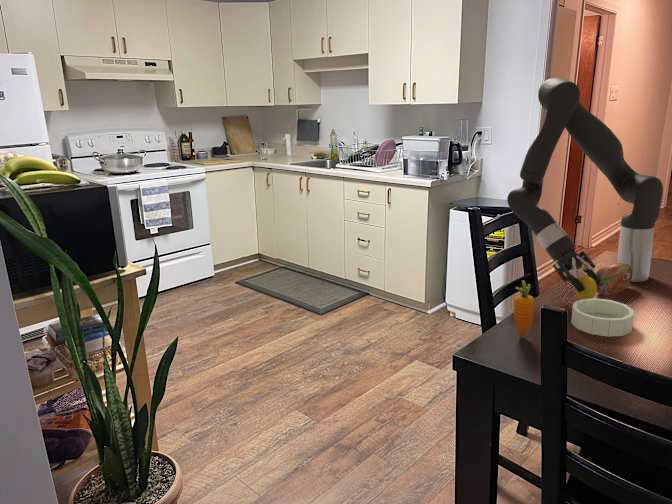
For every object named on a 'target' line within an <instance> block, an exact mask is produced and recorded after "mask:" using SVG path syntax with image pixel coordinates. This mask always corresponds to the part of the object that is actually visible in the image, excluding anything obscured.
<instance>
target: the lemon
mask: <svg viewBox="0 0 672 504" xmlns="http://www.w3.org/2000/svg"><path fill="white" fill-rule="evenodd" d="M587 275H588V274H585V276H582V277H580V278H578V279H579V280H580V281H581V283H582V284H583V285H584V287H585V290H583V291H582V292H578V291H577V290H576V289H575V288H574V290H575V294H576V295H577V296H576V297H578V298H579V299H580V300H582V299H594V297H595V296H596V294H597V292H596V291H597V286H596V282H595V280H594V279H593V278H591V277H589V276H587Z"/></svg>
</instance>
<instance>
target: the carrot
mask: <svg viewBox="0 0 672 504" xmlns="http://www.w3.org/2000/svg"><path fill="white" fill-rule="evenodd" d="M521 284H522V285H521V286H522V287H518V286H515V289H516V290H517V291H519V292H520V294H518V295H516V296H514V299H513V317H514V323H515V328H516V330H517V333H518V334H519V336H520V337H519V338H521V339H524V338H525V337H526V336H527V335H528V333H529V331H530V329H531V328H532V323H533V320H534V315H535V306H536V301H535V299H534V297H533V296H532V295H530V294H529V293H530V289H531V284H530V283H527V282H526V281H525V280H521Z"/></svg>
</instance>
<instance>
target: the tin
mask: <svg viewBox="0 0 672 504" xmlns="http://www.w3.org/2000/svg"><path fill="white" fill-rule="evenodd" d="M595 274H596V275H597V276H598V278H599V279H600V281H601V282H600V283H598V284H597V285H596V286H597V291H596V294H599V295H603V296H606V297H607V296H611V295H613V294H616V293H619V292H622V291H625V290H626V289H628V287H629V286H630V285H631V282H632V281H631V278H632V269H631V267H630V266H629V265H628V264H623V263H617V262H616V263H613V264H610V265H607V266H603V267H600V268H599V269H598V270H597V271H596V272H595Z"/></svg>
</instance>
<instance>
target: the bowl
mask: <svg viewBox="0 0 672 504" xmlns="http://www.w3.org/2000/svg"><path fill="white" fill-rule="evenodd" d="M572 304H573V305H572V309H571V321H570V323H571V324H572V326H573V327H575V328H576V329H577V330H579V331H582V332H584V333H587V334H589V335H595V336H602V337H609V338H610V337H623V336H626V335H628V334H631V333H632V331H633V325H634V316H635V315H634V313H635V312H634V309H633V308H631V307H630V306H628V305H627V304H625V303H622V302H619V301H615V300H611V299H604V298H603V299H602V298H592V299H580V300H576V301H574V302H573V303H572Z"/></svg>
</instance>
